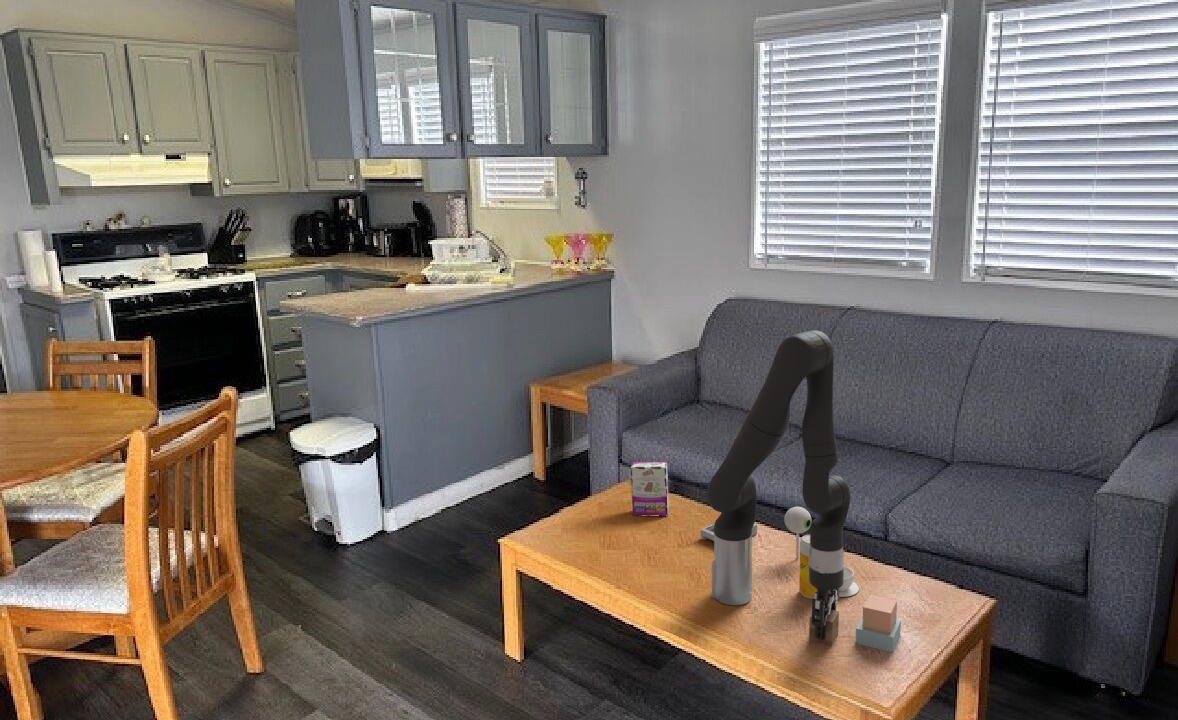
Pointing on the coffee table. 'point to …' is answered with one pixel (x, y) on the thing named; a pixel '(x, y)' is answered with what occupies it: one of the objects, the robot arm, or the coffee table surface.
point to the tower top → (879, 614)
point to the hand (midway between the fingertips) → (825, 629)
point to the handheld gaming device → (709, 532)
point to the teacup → (848, 584)
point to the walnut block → (831, 628)
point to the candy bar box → (649, 488)
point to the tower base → (878, 637)
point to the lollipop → (797, 523)
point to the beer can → (805, 569)
